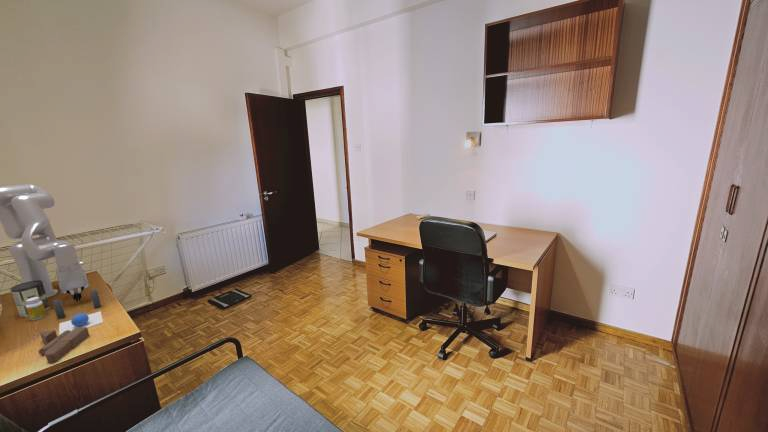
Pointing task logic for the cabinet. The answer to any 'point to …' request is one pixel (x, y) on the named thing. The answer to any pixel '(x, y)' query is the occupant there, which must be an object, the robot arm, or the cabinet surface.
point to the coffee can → (29, 295)
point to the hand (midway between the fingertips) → (78, 300)
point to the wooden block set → (61, 342)
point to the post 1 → (58, 308)
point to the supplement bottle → (35, 308)
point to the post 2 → (95, 298)
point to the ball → (80, 319)
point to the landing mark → (93, 320)
